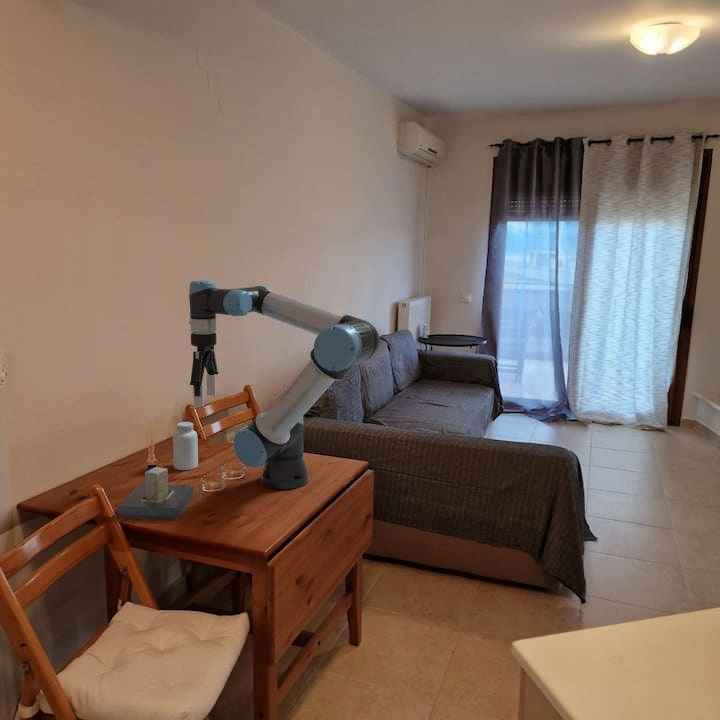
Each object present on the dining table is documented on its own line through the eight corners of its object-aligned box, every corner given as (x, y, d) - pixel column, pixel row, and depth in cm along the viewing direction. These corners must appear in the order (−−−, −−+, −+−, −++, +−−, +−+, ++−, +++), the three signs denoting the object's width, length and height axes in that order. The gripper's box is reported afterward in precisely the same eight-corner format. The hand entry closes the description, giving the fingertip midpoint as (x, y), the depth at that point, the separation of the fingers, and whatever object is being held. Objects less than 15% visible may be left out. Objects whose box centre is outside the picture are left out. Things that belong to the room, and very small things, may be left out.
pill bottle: (203, 465, 211) (202, 423, 208) (185, 472, 204) (183, 428, 201) (187, 460, 215) (185, 419, 212) (168, 467, 208) (166, 424, 205)
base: (193, 496, 185) (193, 484, 185) (175, 520, 170) (175, 507, 169) (140, 494, 186) (140, 482, 185) (118, 517, 170) (117, 505, 170)
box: (157, 511, 175) (156, 474, 173) (145, 509, 176) (143, 472, 174) (169, 504, 180) (168, 468, 178) (157, 502, 181) (155, 466, 179)
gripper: (203, 326, 199) (204, 390, 203) (177, 338, 175) (179, 411, 179) (226, 326, 199) (227, 391, 203) (203, 339, 175) (205, 411, 179)
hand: (205, 400), depth 191 cm, fingers open, 13 cm apart
